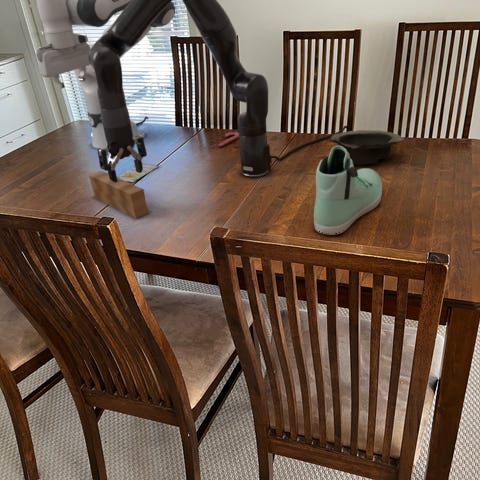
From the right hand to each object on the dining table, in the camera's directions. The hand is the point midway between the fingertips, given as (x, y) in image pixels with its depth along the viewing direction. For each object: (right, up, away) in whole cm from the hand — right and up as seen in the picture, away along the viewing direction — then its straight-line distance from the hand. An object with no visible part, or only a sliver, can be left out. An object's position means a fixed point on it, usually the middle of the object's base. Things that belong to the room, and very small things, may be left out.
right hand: (127, 176), depth 140 cm
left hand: (-24, +34, +22) cm, 47 cm away
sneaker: (+64, -9, -1) cm, 65 cm away
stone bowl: (+77, +11, +31) cm, 84 cm away
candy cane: (+28, +21, +54) cm, 65 cm away
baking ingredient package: (-4, +5, +32) cm, 33 cm away
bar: (-5, -7, +11) cm, 14 cm away
